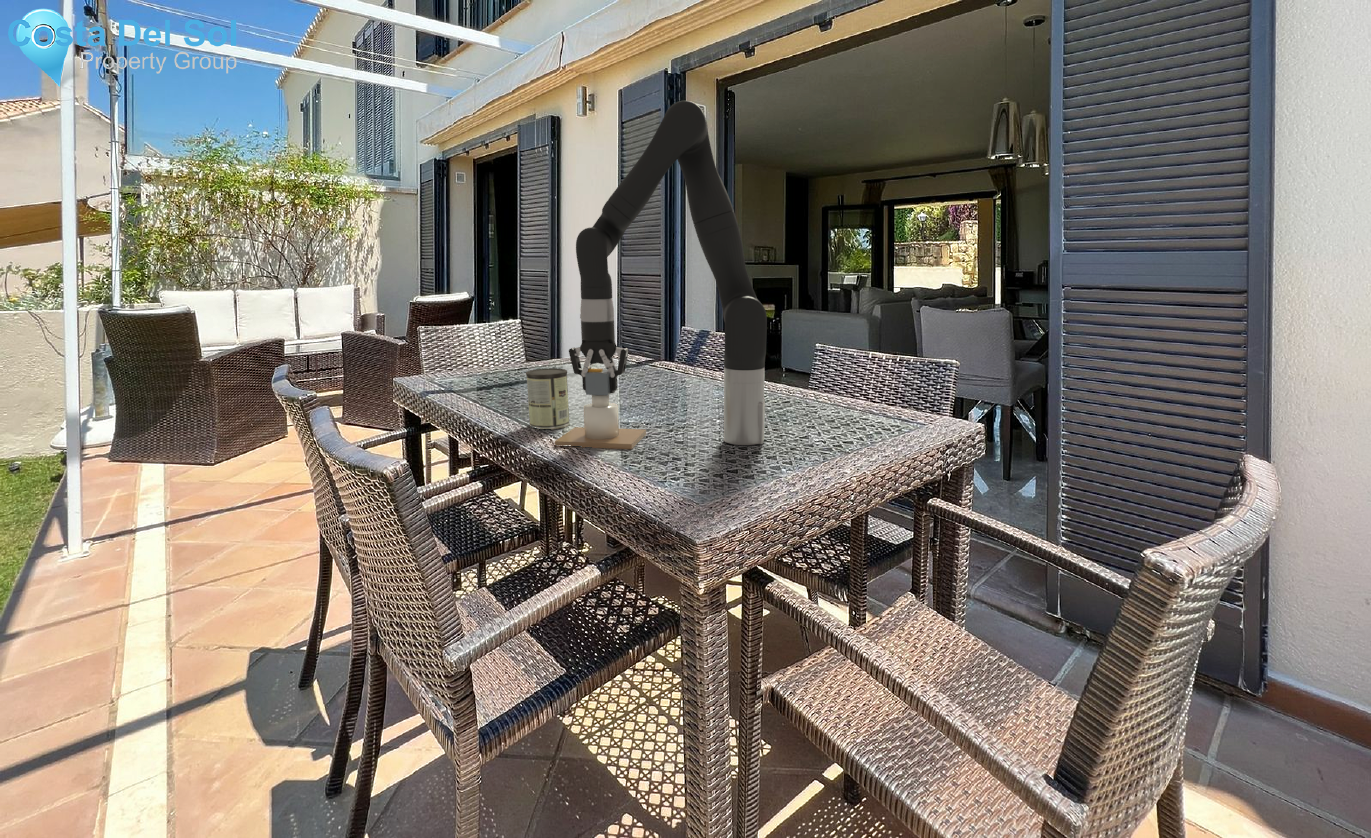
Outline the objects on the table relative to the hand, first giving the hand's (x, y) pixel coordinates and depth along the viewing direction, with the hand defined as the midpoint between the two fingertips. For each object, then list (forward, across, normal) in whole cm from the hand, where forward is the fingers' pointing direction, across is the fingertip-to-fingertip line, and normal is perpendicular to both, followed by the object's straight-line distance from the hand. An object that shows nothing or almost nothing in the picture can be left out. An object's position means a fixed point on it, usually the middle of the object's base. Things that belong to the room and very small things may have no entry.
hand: (600, 392), depth 164 cm
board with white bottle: (+11, 0, 0) cm, 11 cm away
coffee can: (+12, +18, -13) cm, 25 cm away
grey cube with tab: (0, 0, 0) cm, 0 cm away
